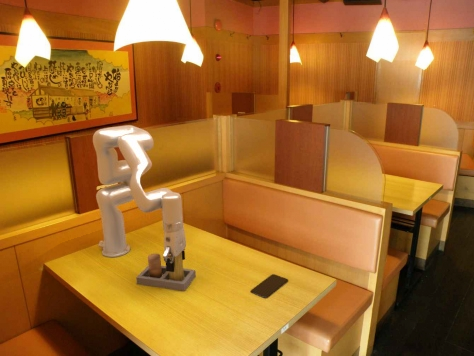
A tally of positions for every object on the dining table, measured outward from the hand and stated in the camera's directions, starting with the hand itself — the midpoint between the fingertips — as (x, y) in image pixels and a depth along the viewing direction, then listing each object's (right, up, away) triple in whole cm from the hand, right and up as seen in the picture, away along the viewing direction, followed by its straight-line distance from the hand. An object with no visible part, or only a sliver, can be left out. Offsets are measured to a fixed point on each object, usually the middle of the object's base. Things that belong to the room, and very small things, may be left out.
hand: (175, 265), depth 150 cm
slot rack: (-4, -7, +3) cm, 9 cm away
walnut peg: (-9, -7, +5) cm, 12 cm away
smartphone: (+37, -8, -3) cm, 38 cm away
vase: (0, -7, +2) cm, 7 cm away
